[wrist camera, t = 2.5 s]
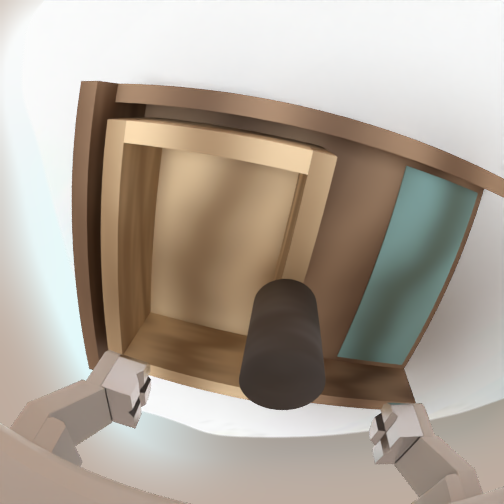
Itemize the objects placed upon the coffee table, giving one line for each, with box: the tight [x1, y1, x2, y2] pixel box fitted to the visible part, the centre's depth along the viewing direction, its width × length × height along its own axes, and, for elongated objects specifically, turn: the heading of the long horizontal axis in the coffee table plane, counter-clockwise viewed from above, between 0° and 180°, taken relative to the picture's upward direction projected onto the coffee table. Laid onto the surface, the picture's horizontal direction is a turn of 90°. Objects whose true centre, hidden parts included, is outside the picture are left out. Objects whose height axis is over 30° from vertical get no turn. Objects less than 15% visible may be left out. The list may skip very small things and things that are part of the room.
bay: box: [72, 81, 504, 409], centre depth 18 cm, size 24×18×7 cm
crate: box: [101, 117, 337, 410], centre depth 15 cm, size 11×14×11 cm
